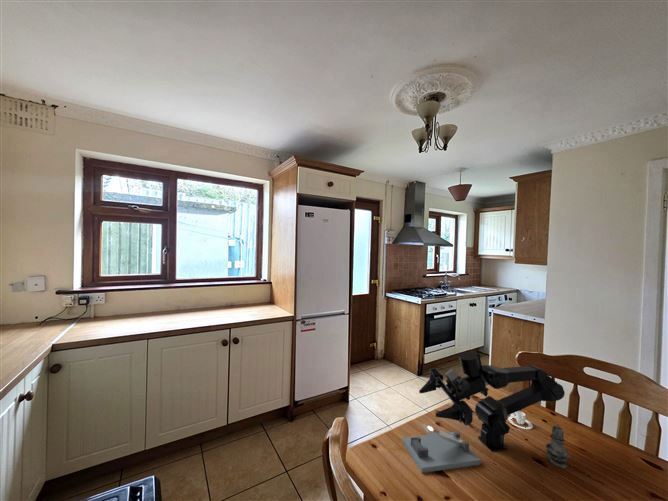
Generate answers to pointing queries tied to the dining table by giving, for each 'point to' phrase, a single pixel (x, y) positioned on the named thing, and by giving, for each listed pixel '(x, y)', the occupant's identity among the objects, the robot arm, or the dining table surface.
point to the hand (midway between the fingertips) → (427, 403)
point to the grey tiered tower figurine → (557, 448)
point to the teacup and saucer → (520, 419)
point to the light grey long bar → (443, 434)
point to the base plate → (439, 453)
